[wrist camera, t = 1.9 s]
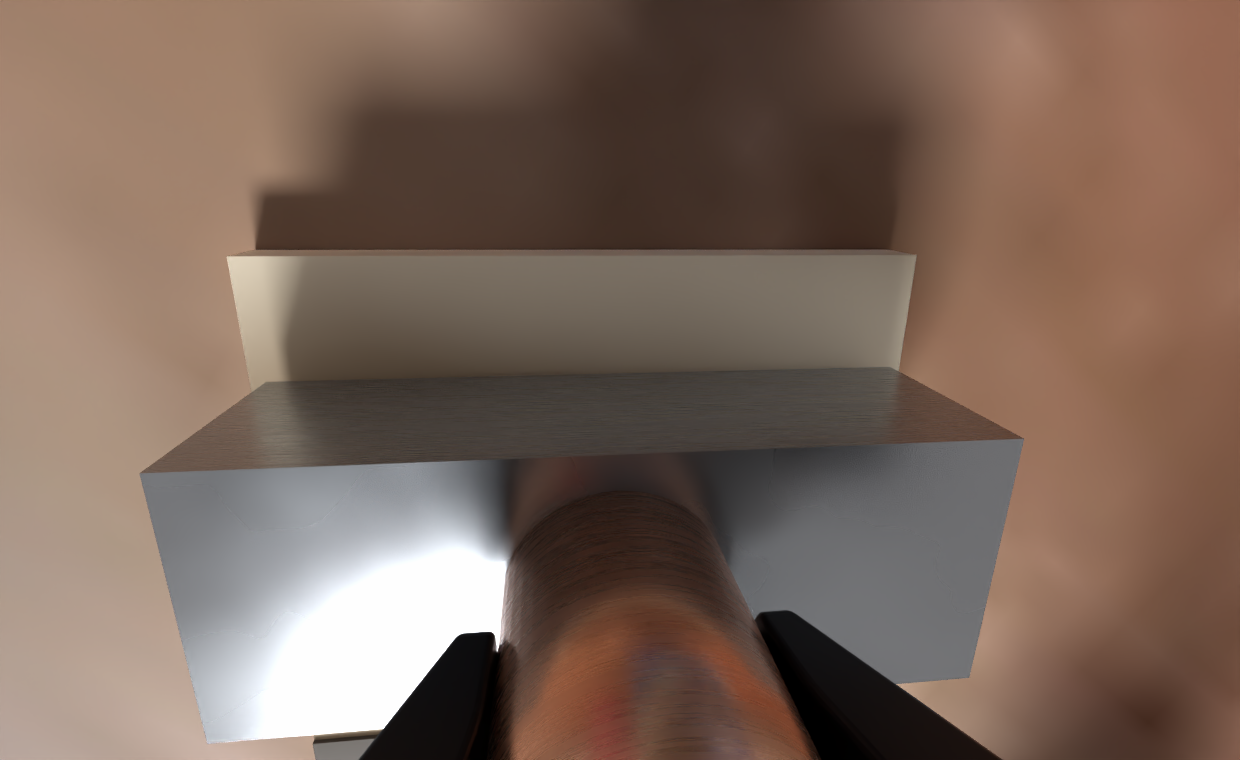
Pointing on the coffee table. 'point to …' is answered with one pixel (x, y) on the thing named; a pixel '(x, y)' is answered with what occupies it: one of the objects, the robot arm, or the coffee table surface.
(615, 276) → the press base
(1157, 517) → the coffee table surface
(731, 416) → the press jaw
